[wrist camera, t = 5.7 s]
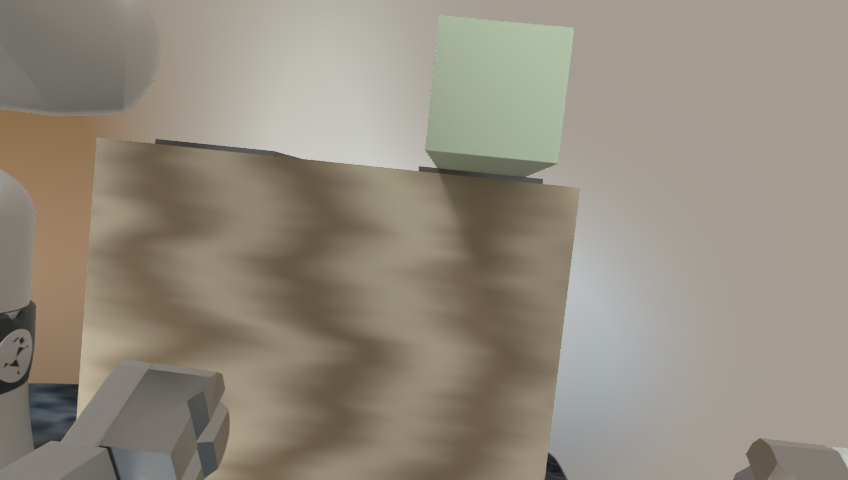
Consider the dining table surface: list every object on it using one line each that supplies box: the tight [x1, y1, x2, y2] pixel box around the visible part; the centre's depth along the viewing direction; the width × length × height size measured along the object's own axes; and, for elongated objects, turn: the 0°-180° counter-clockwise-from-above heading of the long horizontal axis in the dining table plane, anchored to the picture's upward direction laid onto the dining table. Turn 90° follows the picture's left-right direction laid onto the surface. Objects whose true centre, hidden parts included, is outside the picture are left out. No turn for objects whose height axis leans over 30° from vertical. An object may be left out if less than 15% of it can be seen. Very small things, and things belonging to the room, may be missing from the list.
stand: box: [76, 138, 580, 480], centre depth 32 cm, size 20×10×26 cm, turn 87°
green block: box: [425, 16, 574, 177], centre depth 29 cm, size 4×24×4 cm, turn 177°
